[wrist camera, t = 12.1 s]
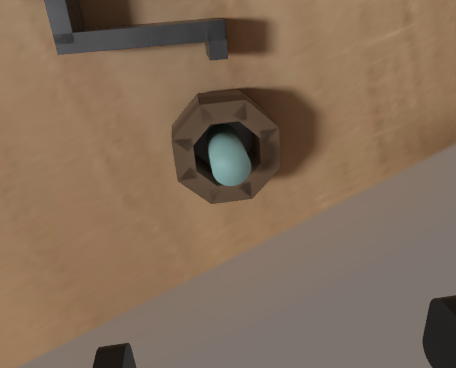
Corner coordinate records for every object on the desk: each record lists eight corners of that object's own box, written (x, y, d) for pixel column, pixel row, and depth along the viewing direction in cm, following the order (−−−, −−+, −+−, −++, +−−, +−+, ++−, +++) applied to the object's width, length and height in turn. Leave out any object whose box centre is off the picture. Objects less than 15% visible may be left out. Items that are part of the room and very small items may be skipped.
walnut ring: (167, 96, 24) (166, 108, 22) (267, 85, 25) (278, 96, 22) (181, 187, 27) (181, 207, 25) (270, 176, 28) (280, 195, 25)
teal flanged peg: (180, 104, 25) (181, 130, 20) (255, 96, 26) (274, 120, 21) (189, 173, 28) (192, 212, 23) (258, 165, 28) (276, 202, 23)
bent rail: (46, -60, 21) (26, -69, 18) (213, -71, 21) (218, -81, 19) (76, 65, 24) (62, 74, 21) (222, 52, 24) (227, 58, 22)
